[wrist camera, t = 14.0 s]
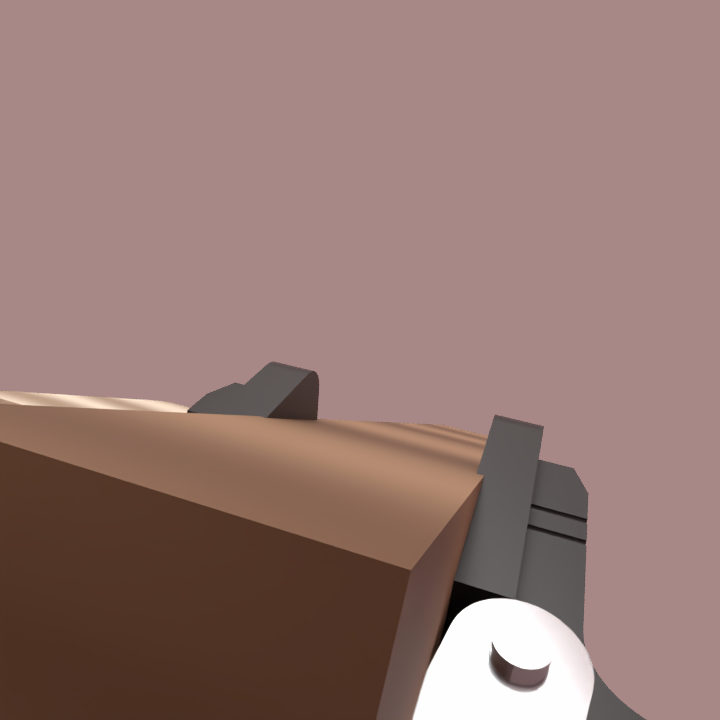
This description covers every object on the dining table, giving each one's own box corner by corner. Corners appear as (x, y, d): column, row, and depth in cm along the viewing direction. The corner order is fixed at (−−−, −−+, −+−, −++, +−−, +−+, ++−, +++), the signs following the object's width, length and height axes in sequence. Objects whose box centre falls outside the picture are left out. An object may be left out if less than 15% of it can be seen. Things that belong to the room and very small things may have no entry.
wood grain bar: (227, 1351, 2) (412, 570, 3) (-306, 981, 3) (-143, 398, 3) (494, 509, 27) (510, 441, 28) (427, 491, 28) (443, 425, 28)
